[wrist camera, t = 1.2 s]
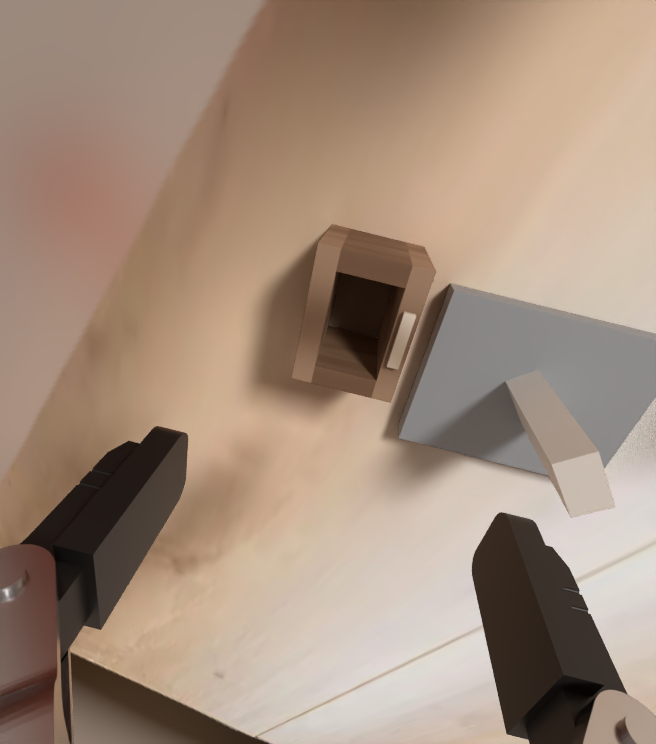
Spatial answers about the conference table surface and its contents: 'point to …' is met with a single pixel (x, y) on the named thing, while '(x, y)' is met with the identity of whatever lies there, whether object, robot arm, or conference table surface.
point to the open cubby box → (350, 349)
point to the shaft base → (516, 347)
